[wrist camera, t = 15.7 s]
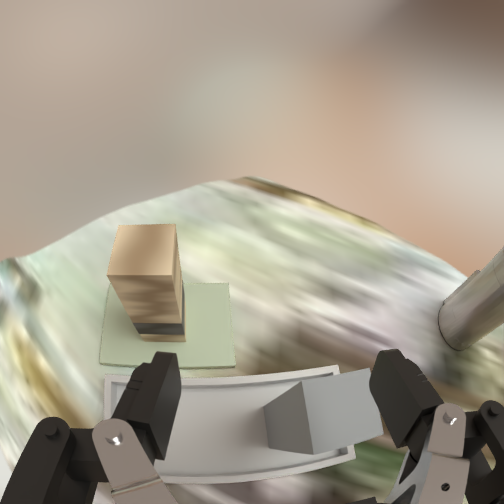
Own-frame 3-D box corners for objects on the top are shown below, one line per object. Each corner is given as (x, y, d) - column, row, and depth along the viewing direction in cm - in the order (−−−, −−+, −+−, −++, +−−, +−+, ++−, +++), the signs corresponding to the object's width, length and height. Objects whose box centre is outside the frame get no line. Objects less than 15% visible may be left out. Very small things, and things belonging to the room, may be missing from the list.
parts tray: (116, 472, 19) (106, 475, 17) (113, 379, 26) (104, 373, 24) (343, 457, 23) (355, 458, 21) (328, 371, 31) (337, 364, 28)
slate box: (268, 448, 23) (313, 455, 12) (263, 406, 26) (301, 380, 15) (313, 440, 24) (383, 434, 13) (307, 400, 27) (369, 367, 16)
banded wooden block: (143, 341, 29) (106, 275, 18) (146, 303, 32) (118, 225, 21) (186, 342, 30) (171, 275, 19) (186, 304, 33) (175, 223, 22)
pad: (102, 364, 27) (99, 362, 26) (112, 286, 34) (110, 282, 33) (234, 367, 30) (235, 365, 29) (228, 286, 36) (228, 282, 36)
